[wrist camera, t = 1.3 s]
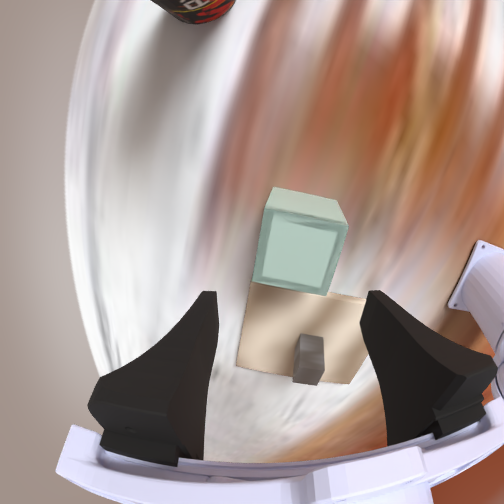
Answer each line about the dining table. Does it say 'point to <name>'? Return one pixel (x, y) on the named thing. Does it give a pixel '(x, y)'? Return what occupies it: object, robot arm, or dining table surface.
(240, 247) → the dining table surface
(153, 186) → the dining table surface
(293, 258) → the mint green grooved cube
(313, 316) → the board
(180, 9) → the deodorant
